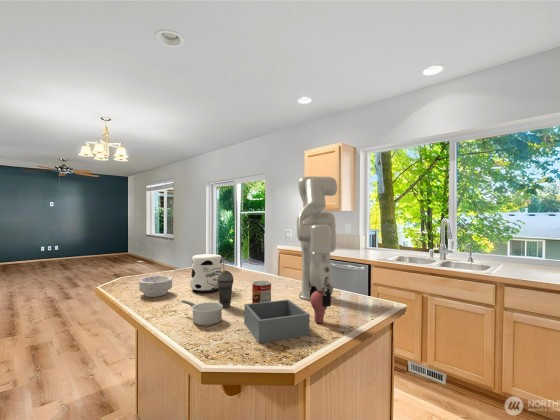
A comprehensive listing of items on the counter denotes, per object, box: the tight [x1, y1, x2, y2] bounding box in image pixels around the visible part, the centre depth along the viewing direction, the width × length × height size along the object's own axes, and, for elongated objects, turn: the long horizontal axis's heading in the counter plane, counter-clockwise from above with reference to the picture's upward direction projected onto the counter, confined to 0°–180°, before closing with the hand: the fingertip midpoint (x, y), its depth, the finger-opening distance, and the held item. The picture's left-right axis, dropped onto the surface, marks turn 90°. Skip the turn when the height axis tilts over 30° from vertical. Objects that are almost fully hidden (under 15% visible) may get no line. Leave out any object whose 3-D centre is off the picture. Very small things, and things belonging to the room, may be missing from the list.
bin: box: [243, 299, 311, 344], centre depth 102 cm, size 18×18×7 cm
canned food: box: [251, 280, 272, 304], centre depth 120 cm, size 8×8×12 cm
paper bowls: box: [138, 275, 173, 298], centre depth 143 cm, size 15×15×8 cm
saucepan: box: [180, 299, 223, 326], centre depth 111 cm, size 12×20×6 cm, turn 58°
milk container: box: [189, 253, 223, 293], centre depth 154 cm, size 17×17×18 cm
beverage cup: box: [217, 260, 235, 309], centre depth 126 cm, size 7×7×20 cm
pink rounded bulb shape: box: [309, 290, 328, 324], centre depth 108 cm, size 7×7×12 cm
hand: (319, 302), depth 108 cm, fingers open, 9 cm apart
